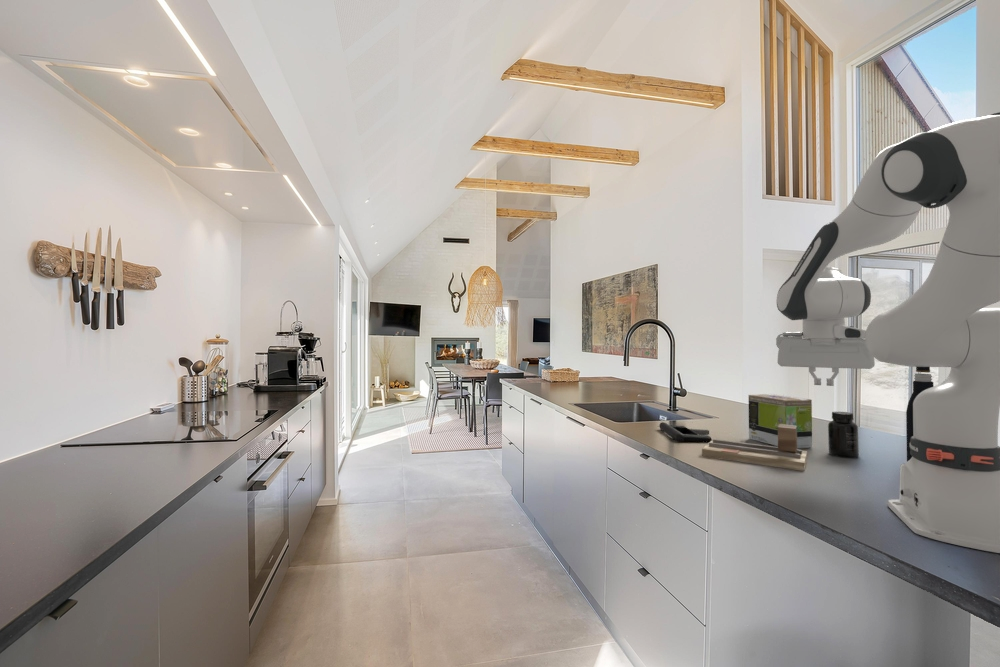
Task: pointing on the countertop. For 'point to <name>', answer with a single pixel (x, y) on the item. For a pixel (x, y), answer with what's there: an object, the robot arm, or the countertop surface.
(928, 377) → the black water bottle
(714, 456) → the slider board
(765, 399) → the tea box
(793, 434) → the fader knob
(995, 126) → the robot arm
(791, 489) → the countertop surface
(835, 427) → the supplement bottle
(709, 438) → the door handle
